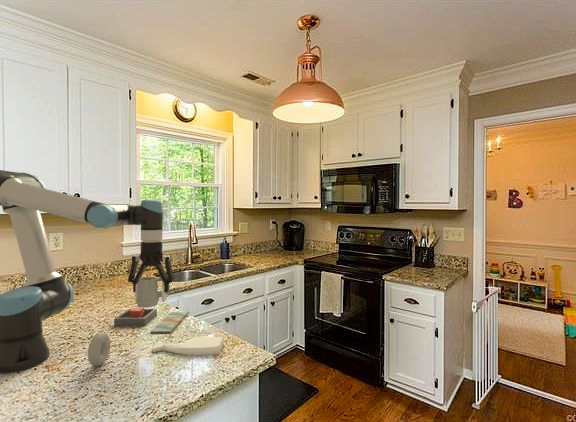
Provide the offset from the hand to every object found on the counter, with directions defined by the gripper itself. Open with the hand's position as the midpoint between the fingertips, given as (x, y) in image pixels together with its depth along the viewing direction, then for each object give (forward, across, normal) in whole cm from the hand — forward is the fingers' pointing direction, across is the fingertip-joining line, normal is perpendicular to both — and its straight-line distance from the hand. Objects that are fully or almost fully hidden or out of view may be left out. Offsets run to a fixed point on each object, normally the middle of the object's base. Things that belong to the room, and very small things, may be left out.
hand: (151, 300), depth 120 cm
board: (+15, -1, -20) cm, 25 cm away
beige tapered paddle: (+16, -16, +6) cm, 23 cm away
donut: (+16, +9, +17) cm, 25 cm away
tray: (+16, +16, -23) cm, 32 cm away
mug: (+1, -1, 0) cm, 2 cm away
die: (+15, +16, -22) cm, 31 cm away
